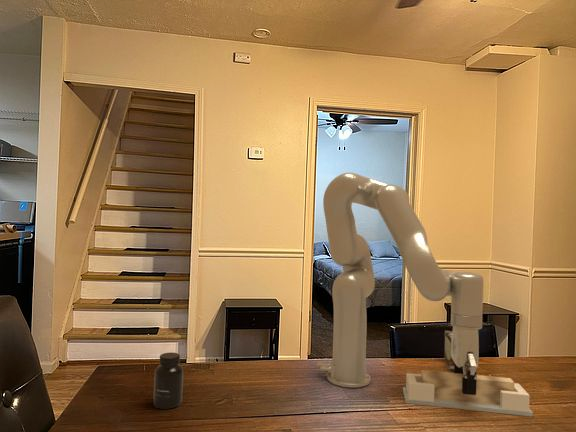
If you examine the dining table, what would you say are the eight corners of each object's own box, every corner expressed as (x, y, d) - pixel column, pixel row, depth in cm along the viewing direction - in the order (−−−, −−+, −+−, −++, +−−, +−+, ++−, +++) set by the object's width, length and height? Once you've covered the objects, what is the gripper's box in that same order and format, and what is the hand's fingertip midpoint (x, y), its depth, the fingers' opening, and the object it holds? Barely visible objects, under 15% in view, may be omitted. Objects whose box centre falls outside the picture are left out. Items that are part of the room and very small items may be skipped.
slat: (422, 397, 109) (423, 374, 109) (420, 392, 112) (421, 370, 112) (513, 406, 105) (514, 382, 105) (509, 401, 108) (510, 378, 108)
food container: (471, 374, 129) (472, 342, 129) (450, 372, 130) (451, 340, 130) (463, 361, 141) (464, 331, 141) (443, 359, 142) (444, 330, 142)
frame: (405, 403, 107) (406, 383, 107) (402, 390, 115) (403, 372, 115) (533, 416, 102) (533, 396, 102) (521, 402, 110) (521, 383, 110)
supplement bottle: (156, 412, 99) (157, 361, 99) (151, 400, 105) (152, 352, 105) (185, 407, 102) (186, 357, 102) (178, 396, 108) (180, 349, 108)
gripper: (444, 312, 118) (443, 372, 118) (458, 327, 101) (456, 399, 101) (473, 313, 116) (471, 375, 116) (491, 330, 99) (489, 402, 99)
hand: (464, 386), depth 109 cm, fingers open, 9 cm apart
